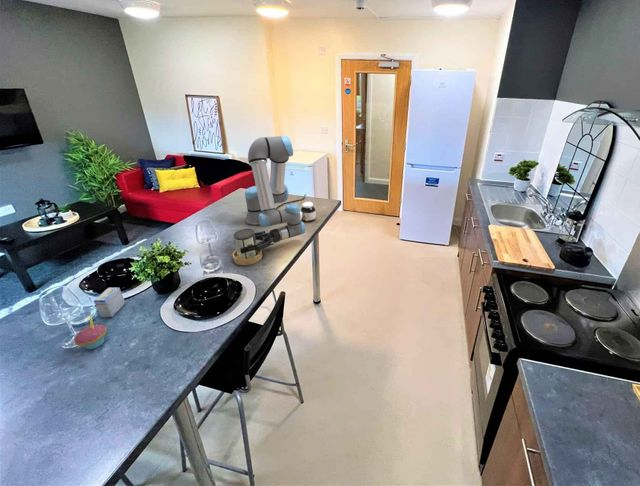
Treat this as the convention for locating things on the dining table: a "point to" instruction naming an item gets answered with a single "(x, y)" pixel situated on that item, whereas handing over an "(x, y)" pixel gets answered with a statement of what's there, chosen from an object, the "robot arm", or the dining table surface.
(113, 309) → the medicine box
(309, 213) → the spread jar
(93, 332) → the cupcake
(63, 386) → the dining table surface
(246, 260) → the round tan tray
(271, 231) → the robot arm
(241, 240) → the coffee can
